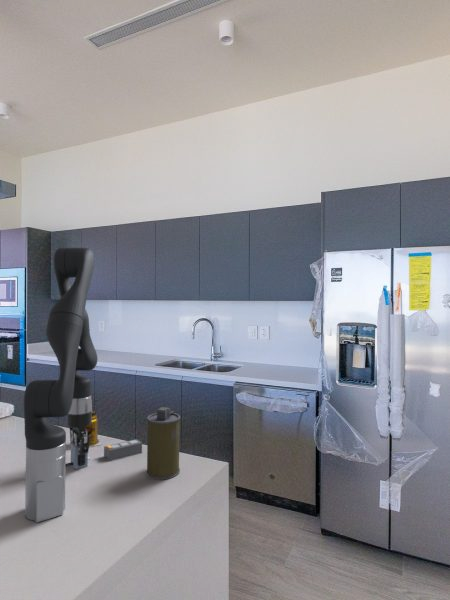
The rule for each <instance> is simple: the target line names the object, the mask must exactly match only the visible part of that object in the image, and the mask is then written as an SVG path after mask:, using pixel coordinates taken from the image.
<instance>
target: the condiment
mask: <svg viewBox="0 0 450 600" xmlns="http://www.w3.org/2000/svg"><path fill="white" fill-rule="evenodd" d="M97 416H98V415H97V411H96V410H93V409H92V422H91V424H90V425H88V426H87V427H86V430H87V436H90V441H89V448H92V447H96V446H101V445H102V443H101V442H100V440H99V438H98V428H99V426H98V423H99V422H98V418H97Z"/></svg>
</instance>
